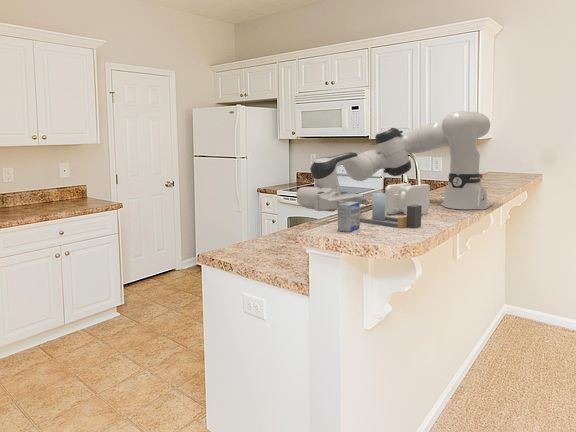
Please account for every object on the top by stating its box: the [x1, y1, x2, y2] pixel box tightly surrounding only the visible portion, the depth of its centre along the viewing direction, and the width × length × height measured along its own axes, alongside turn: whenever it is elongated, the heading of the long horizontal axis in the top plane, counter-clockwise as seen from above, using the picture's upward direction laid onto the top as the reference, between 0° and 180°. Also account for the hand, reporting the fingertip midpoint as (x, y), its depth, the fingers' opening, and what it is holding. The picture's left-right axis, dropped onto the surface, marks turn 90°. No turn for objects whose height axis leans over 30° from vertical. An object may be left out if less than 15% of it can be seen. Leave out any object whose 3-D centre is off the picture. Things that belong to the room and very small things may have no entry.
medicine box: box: [337, 202, 361, 233], centre depth 150 cm, size 8×4×9 cm, turn 148°
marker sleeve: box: [371, 192, 386, 221], centre depth 162 cm, size 4×4×10 cm
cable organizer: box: [384, 182, 431, 216], centre depth 177 cm, size 15×11×12 cm
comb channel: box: [360, 205, 422, 229], centre depth 159 cm, size 10×20×7 cm, turn 44°
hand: (358, 203), depth 168 cm, fingers open, 8 cm apart
